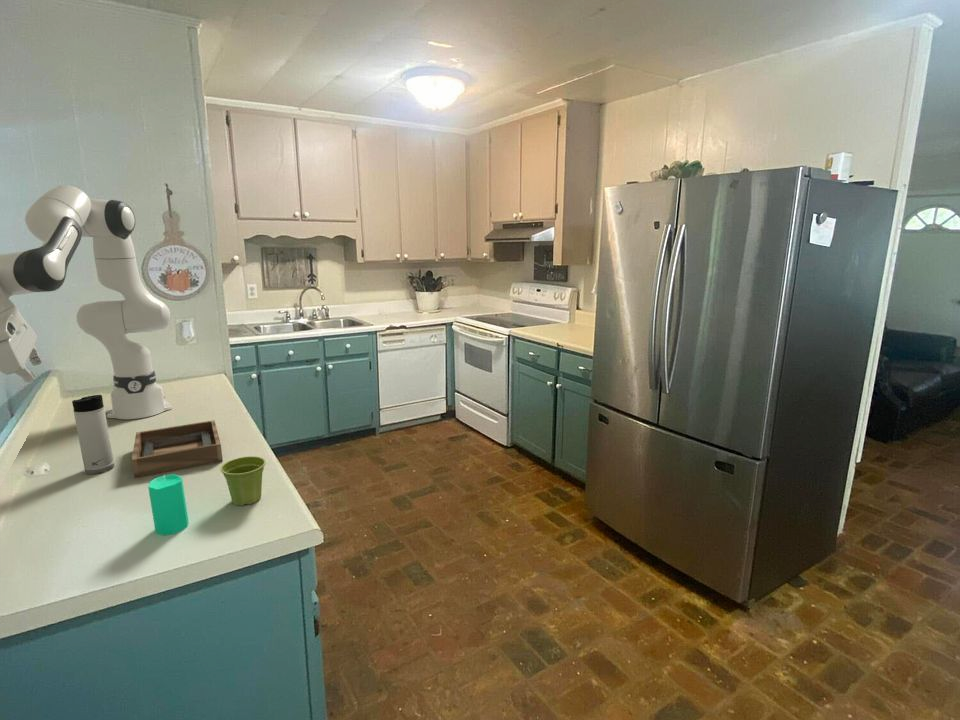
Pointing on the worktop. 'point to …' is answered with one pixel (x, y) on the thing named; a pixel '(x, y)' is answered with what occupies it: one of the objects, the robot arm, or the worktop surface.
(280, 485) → the worktop surface
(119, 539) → the worktop surface
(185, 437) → the plate
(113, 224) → the robot arm
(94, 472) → the travel mug
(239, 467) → the plant pot
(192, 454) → the open box
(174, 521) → the candle
